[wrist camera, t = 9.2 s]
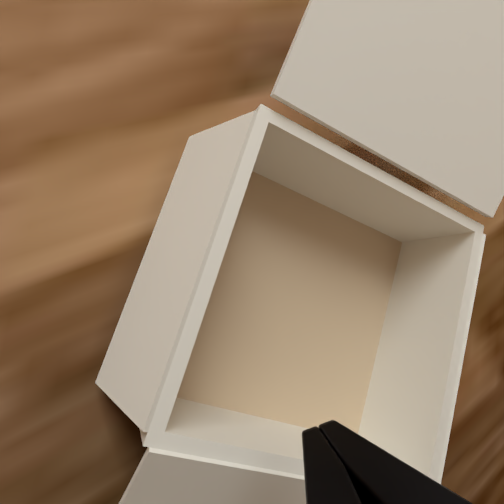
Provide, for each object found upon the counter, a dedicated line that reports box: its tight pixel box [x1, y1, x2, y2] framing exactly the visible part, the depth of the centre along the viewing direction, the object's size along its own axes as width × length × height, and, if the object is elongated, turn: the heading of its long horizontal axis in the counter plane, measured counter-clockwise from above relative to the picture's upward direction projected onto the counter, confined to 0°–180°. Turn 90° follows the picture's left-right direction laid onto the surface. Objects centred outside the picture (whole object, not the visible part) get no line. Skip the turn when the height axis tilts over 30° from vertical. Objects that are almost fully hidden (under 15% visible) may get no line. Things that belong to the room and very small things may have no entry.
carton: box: [95, 104, 486, 504], centre depth 16 cm, size 17×15×5 cm
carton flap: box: [270, 0, 504, 218], centre depth 14 cm, size 1×12×9 cm
